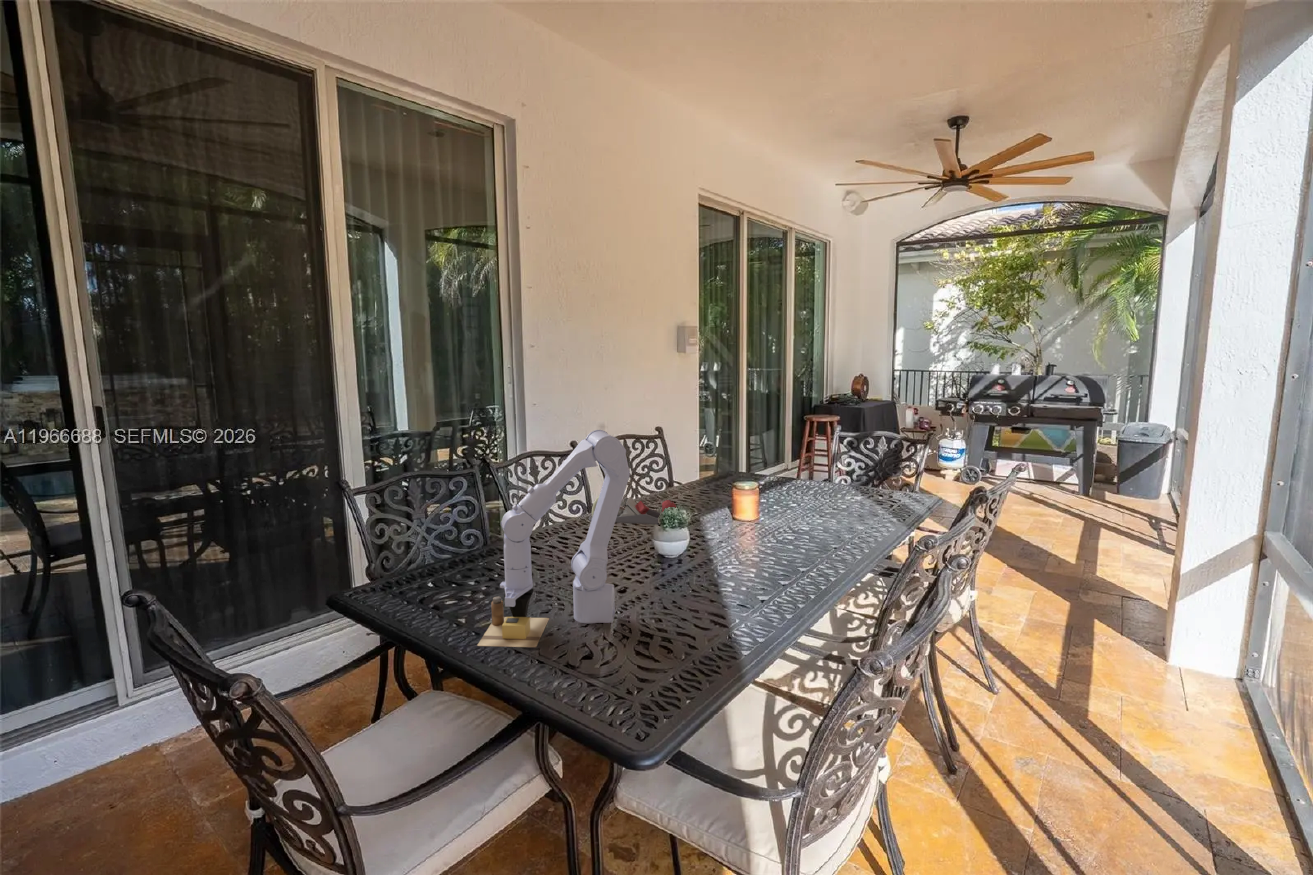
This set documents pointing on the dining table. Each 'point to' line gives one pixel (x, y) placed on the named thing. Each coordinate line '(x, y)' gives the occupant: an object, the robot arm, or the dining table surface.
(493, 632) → the plywood panel
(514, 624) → the stud finder
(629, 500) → the hand plane
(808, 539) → the dining table surface
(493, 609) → the brown gray-topped cylinder
